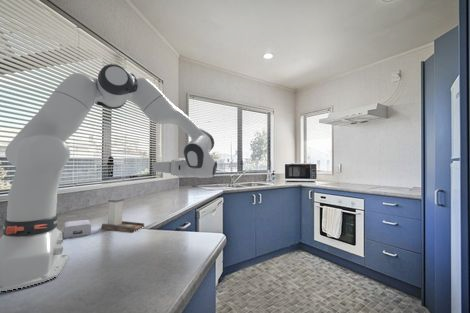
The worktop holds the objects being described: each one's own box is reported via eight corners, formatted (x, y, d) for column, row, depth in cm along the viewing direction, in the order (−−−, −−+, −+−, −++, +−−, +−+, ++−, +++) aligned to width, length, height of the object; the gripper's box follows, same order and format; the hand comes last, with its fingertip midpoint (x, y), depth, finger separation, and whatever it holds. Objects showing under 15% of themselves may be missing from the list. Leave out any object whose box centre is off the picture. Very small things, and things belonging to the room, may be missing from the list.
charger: (87, 226, 107) (90, 235, 95) (63, 229, 101) (63, 238, 89) (88, 216, 107) (91, 223, 95) (64, 218, 101) (64, 227, 90)
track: (144, 227, 108) (144, 223, 108) (133, 232, 100) (133, 227, 100) (113, 224, 111) (114, 220, 111) (101, 228, 104) (101, 224, 104)
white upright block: (122, 223, 109) (123, 198, 109) (114, 226, 104) (115, 200, 104) (115, 222, 110) (116, 198, 110) (107, 225, 105) (108, 199, 105)
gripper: (191, 160, 113) (167, 159, 116) (172, 160, 93) (143, 159, 96) (191, 173, 113) (166, 172, 116) (172, 175, 93) (142, 173, 96)
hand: (155, 166), depth 106 cm, fingers closed
